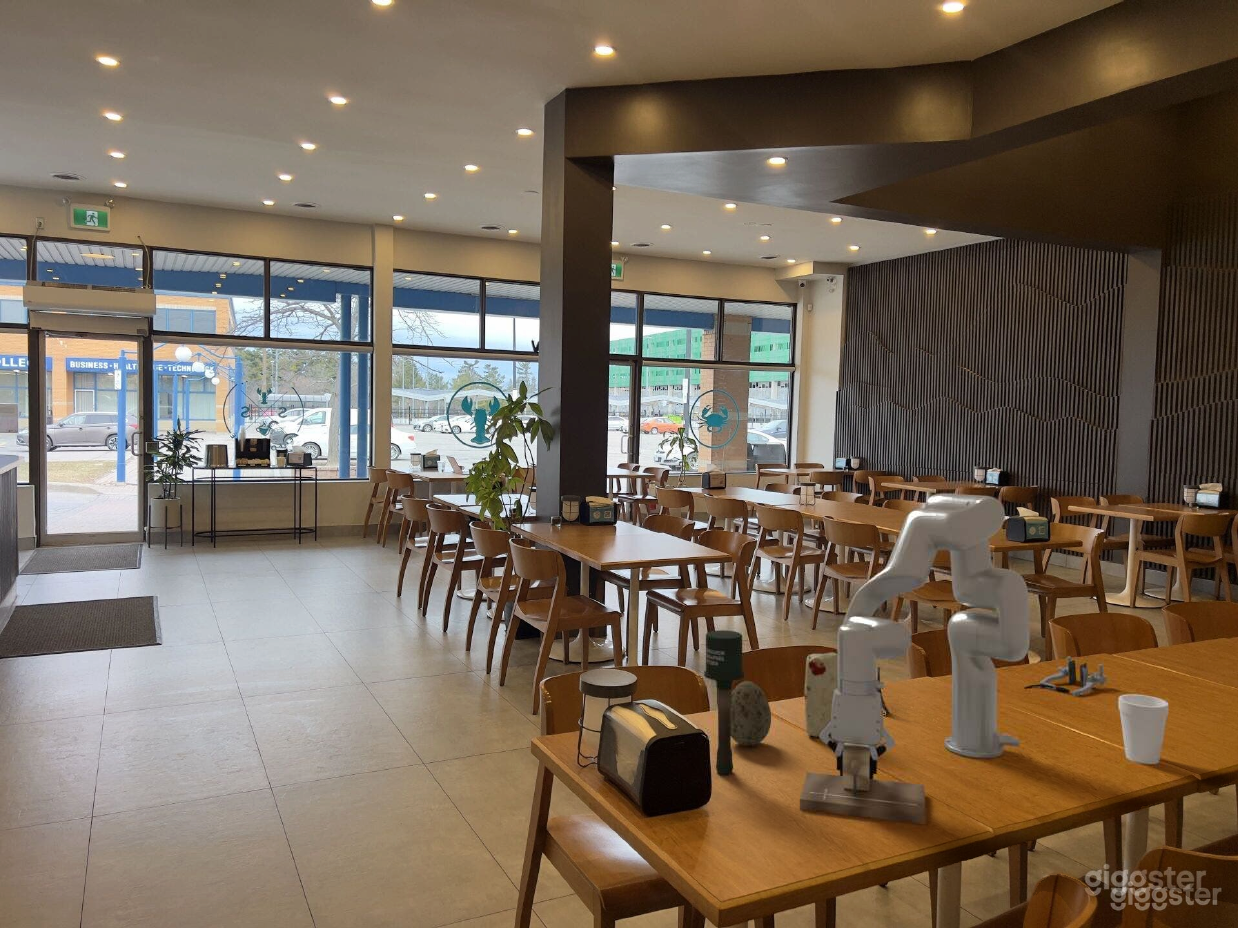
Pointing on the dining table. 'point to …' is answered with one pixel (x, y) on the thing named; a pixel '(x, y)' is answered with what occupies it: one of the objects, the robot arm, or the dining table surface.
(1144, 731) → the foam cup
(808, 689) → the food model
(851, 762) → the block
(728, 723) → the stick grenade
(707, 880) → the dining table surface
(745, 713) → the decorative egg
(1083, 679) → the bike brake
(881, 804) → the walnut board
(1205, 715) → the dining table surface
